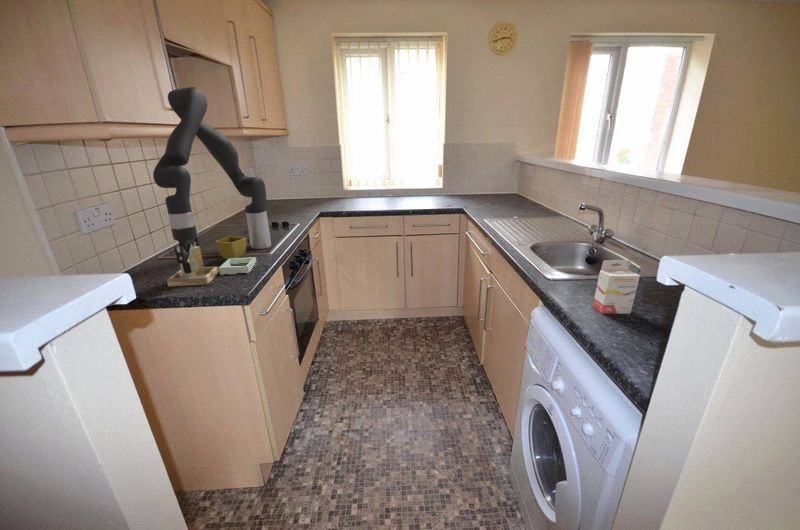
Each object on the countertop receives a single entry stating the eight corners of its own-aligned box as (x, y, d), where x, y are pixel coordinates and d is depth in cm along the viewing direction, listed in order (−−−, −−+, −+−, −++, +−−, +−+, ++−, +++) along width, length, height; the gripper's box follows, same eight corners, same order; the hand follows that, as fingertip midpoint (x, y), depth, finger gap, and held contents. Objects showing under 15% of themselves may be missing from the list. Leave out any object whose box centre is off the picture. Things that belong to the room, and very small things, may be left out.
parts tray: (229, 265, 141) (228, 258, 140) (256, 263, 143) (255, 257, 142) (220, 274, 130) (218, 267, 130) (249, 273, 132) (247, 266, 131)
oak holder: (183, 274, 131) (182, 268, 130) (219, 272, 133) (218, 266, 132) (168, 286, 120) (166, 279, 119) (207, 284, 122) (206, 277, 121)
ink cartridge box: (602, 314, 96) (612, 265, 92) (592, 306, 101) (601, 259, 96) (631, 313, 97) (643, 264, 92) (620, 306, 101) (630, 259, 96)
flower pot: (249, 257, 152) (246, 237, 149) (235, 263, 144) (232, 242, 141) (233, 255, 154) (229, 236, 151) (218, 261, 146) (214, 241, 143)
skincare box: (190, 283, 123) (183, 250, 119) (182, 281, 125) (175, 249, 121) (207, 277, 128) (200, 246, 124) (199, 275, 130) (192, 244, 126)
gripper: (180, 221, 126) (190, 263, 131) (161, 230, 113) (172, 276, 118) (202, 220, 127) (211, 262, 132) (185, 229, 114) (195, 275, 119)
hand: (192, 269), depth 125 cm, fingers closed on skincare box, 7 cm apart
